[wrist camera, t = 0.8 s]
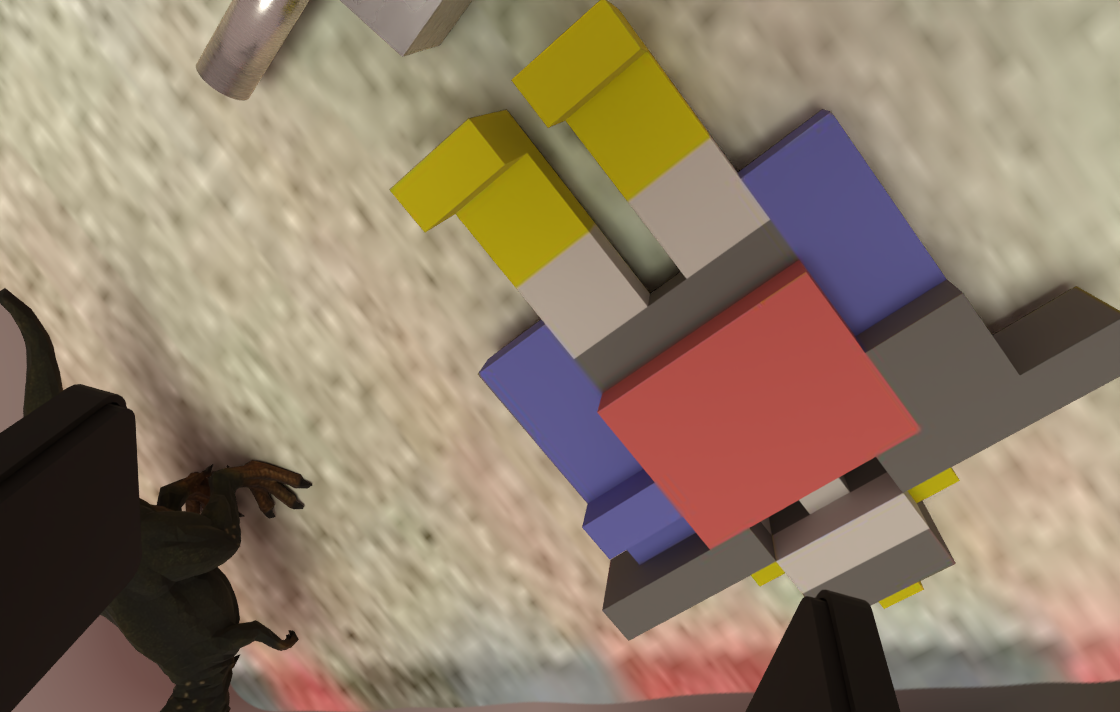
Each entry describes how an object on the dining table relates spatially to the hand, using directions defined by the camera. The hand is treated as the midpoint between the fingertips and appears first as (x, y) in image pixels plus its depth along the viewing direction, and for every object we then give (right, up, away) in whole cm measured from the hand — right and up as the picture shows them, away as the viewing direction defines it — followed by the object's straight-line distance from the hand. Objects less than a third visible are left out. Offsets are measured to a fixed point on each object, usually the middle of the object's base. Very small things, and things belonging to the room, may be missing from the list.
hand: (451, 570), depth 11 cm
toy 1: (-18, -3, +36) cm, 41 cm away
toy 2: (+10, +5, +28) cm, 30 cm away
